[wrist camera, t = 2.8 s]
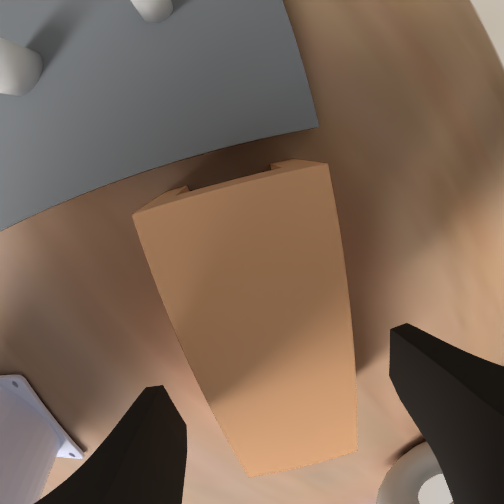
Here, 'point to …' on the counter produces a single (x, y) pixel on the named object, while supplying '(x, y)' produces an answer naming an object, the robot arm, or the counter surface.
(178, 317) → the rectangular block
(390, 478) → the donut
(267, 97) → the post board
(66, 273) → the counter surface
